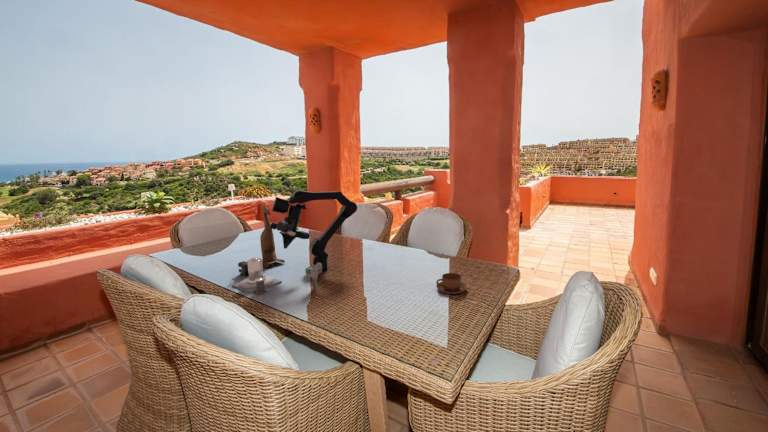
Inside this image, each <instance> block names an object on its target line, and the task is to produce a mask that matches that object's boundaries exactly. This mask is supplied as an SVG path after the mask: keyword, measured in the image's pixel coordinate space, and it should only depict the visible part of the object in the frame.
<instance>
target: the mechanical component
mask: <svg viewBox="0 0 768 432" xmlns="http://www.w3.org/2000/svg"><path fill="white" fill-rule="evenodd" d="M304 271H305V276H306V277H308V278H311V279H312V287H313V288H312V289H313V290H314V289H315V290H317V289H318V284H317V283H318V281H317V279H318V278H319V277H318V275H319V274H321V273H322V272H323V271H322V264H321V263H317V264H316V265H313V264H311V265H309V266H308V267H306V268H305V270H304Z"/></svg>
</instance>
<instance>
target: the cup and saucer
mask: <svg viewBox="0 0 768 432" xmlns="http://www.w3.org/2000/svg"><path fill="white" fill-rule="evenodd" d="M435 284H436V289H437V291H439V292H441V293H444V294H448V295H450V294H451V295H452V294H453V295H456V294H458V295H459V294H461V293H464V292H465V291H466V290H467V285H466V284H465V283H463V282H462V276H461V274H458V273H454V272H446V273H443V274H442V276H441V278H439V279H437V280H436V283H435Z"/></svg>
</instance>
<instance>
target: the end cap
mask: <svg viewBox="0 0 768 432" xmlns="http://www.w3.org/2000/svg"><path fill="white" fill-rule="evenodd" d="M237 264H238V265H237V266H238V273H239V276H241V277H243V276H244V277H249V273H248V262H247V261H245V260H244V261H240V262H238V263H237ZM262 265H263V270H264V269H265V268H264V262H263V259H262Z"/></svg>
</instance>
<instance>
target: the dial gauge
mask: <svg viewBox="0 0 768 432" xmlns="http://www.w3.org/2000/svg"><path fill="white" fill-rule="evenodd" d="M255 281H256V287H257V289H256V290H254V293H255V294H256V295H257V296H259V295H263V294H267V293H268V290H267V288H264V278H263V277H260V278H256V279H255Z"/></svg>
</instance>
